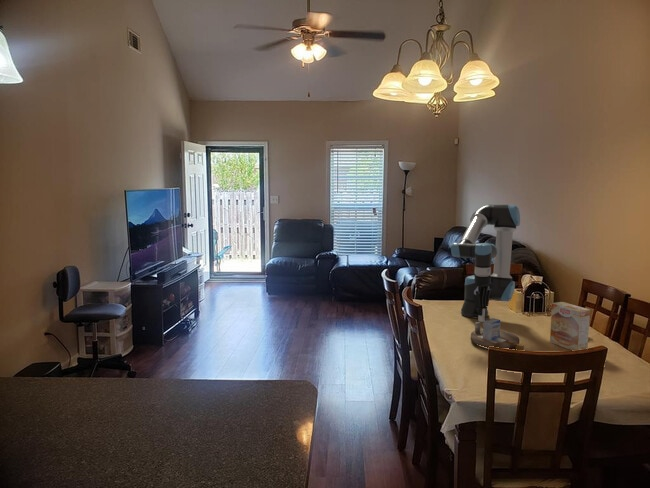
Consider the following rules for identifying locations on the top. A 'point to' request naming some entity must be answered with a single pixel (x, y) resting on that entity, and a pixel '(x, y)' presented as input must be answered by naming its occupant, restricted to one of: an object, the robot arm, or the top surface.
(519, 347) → the dial base
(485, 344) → the index dial
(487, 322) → the medicine box
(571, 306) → the coffeecake box
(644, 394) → the top surface
